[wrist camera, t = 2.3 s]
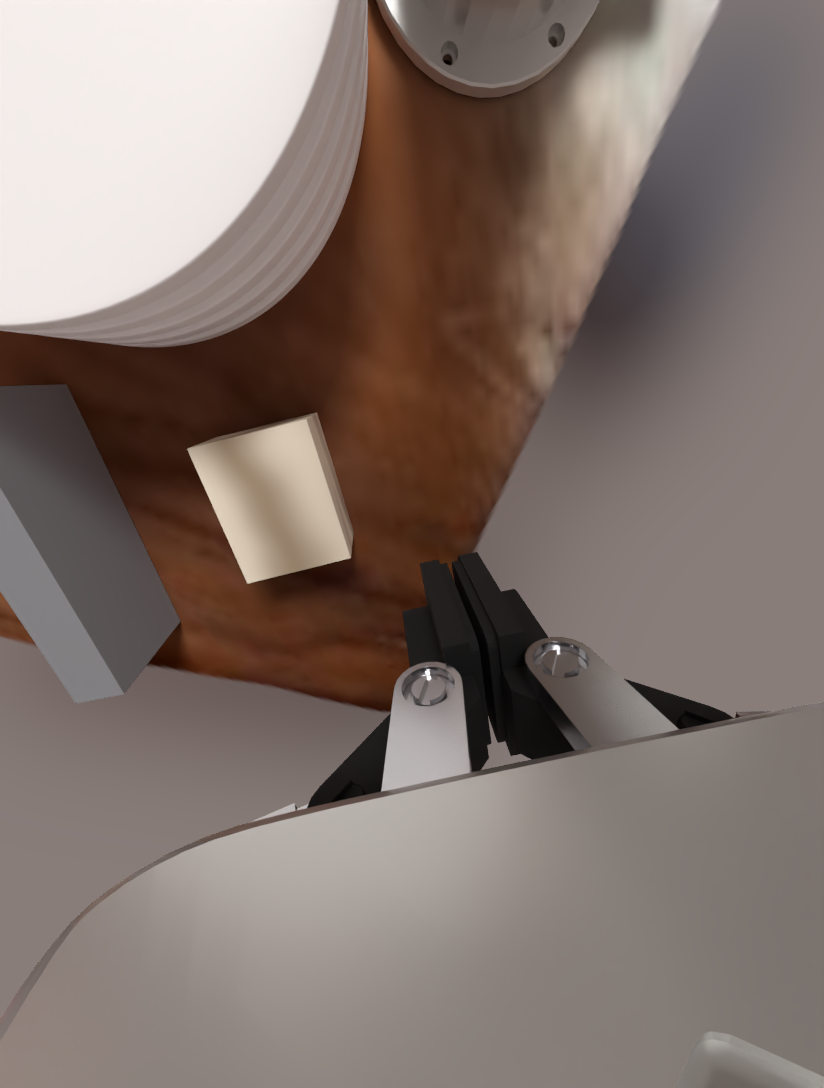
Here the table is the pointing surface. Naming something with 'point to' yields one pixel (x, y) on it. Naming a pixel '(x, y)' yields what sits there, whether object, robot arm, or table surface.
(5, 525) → the gray board
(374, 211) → the table surface
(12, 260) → the plate stack
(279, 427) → the cream block
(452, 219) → the table surface
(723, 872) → the robot arm
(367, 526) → the table surface
